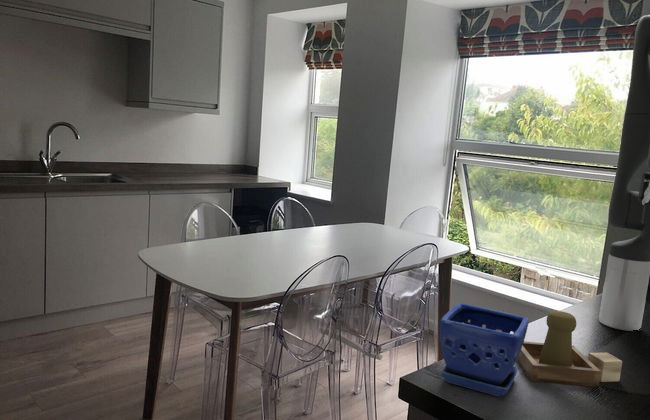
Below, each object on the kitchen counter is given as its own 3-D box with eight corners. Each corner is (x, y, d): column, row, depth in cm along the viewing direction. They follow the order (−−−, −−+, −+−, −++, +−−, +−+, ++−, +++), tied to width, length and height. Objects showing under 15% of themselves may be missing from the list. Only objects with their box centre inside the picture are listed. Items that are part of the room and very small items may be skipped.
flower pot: (451, 359, 106) (457, 300, 104) (522, 377, 100) (530, 315, 98) (431, 384, 94) (438, 318, 92) (510, 407, 88) (520, 337, 86)
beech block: (586, 372, 104) (589, 352, 104) (603, 372, 105) (606, 352, 105) (601, 382, 100) (604, 361, 100) (619, 381, 101) (622, 361, 101)
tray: (511, 354, 110) (513, 340, 110) (571, 359, 110) (573, 345, 109) (531, 380, 98) (533, 365, 98) (598, 387, 98) (600, 371, 98)
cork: (574, 377, 100) (583, 320, 98) (540, 371, 101) (547, 315, 100) (568, 364, 106) (576, 310, 104) (535, 359, 107) (543, 305, 105)
